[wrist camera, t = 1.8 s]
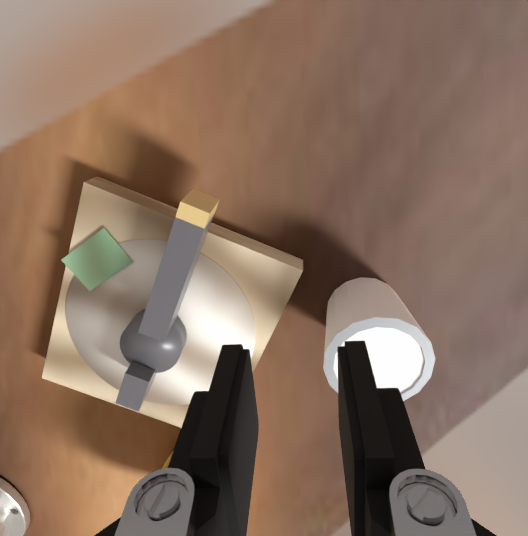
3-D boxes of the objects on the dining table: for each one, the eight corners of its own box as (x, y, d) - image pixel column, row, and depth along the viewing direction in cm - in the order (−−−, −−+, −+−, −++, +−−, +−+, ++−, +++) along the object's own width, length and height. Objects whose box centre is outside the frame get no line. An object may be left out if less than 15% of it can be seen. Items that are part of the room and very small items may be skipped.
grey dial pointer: (168, 387, 34) (155, 417, 30) (116, 368, 33) (98, 397, 30) (238, 206, 27) (230, 222, 24) (175, 180, 27) (158, 192, 23)
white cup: (313, 275, 31) (317, 324, 25) (407, 264, 30) (435, 312, 24) (323, 350, 34) (329, 412, 28) (409, 342, 33) (436, 404, 27)
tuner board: (222, 424, 38) (218, 443, 36) (51, 362, 37) (36, 378, 35) (302, 259, 31) (303, 272, 29) (92, 174, 29) (77, 180, 27)
